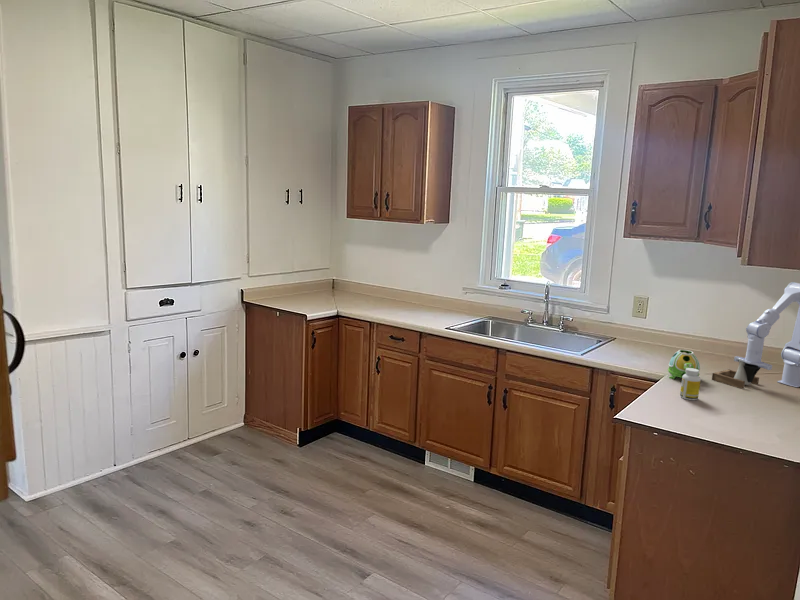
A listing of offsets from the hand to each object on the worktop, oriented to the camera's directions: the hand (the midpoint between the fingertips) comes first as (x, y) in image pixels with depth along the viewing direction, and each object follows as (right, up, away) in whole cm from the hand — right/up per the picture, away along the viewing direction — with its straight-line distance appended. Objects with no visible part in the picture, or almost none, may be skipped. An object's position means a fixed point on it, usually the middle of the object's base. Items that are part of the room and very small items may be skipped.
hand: (749, 381), depth 250 cm
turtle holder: (-25, 0, +7) cm, 26 cm away
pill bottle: (-35, -4, -18) cm, 39 cm away
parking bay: (-3, -1, +5) cm, 6 cm away
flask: (-2, -1, +3) cm, 4 cm away
